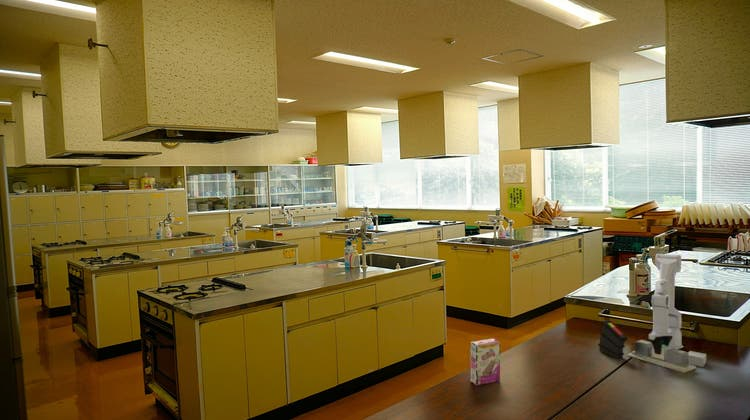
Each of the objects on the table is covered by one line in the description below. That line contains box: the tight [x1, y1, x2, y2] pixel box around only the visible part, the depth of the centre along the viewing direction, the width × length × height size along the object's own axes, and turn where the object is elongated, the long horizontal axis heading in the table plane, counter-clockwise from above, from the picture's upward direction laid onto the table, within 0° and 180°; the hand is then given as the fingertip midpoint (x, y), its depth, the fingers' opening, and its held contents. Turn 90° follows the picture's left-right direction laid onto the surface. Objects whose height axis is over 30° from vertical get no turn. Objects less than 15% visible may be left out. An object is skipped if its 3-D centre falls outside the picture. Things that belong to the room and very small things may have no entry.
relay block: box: [688, 350, 707, 368], centre depth 205 cm, size 6×6×4 cm
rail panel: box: [627, 339, 697, 374], centre depth 208 cm, size 9×24×7 cm, turn 30°
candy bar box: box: [469, 338, 501, 387], centre depth 192 cm, size 11×5×16 cm, turn 111°
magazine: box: [597, 320, 629, 360], centre depth 217 cm, size 4×13×15 cm, turn 19°
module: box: [652, 344, 669, 360], centre depth 208 cm, size 4×5×5 cm
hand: (660, 352), depth 208 cm, fingers closed on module, 4 cm apart
